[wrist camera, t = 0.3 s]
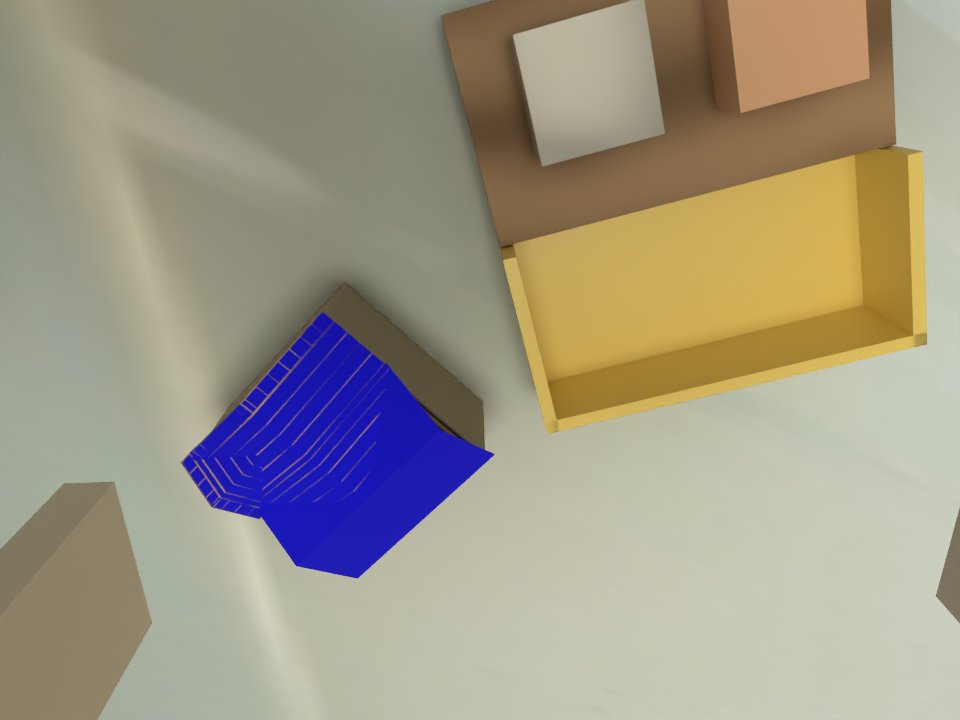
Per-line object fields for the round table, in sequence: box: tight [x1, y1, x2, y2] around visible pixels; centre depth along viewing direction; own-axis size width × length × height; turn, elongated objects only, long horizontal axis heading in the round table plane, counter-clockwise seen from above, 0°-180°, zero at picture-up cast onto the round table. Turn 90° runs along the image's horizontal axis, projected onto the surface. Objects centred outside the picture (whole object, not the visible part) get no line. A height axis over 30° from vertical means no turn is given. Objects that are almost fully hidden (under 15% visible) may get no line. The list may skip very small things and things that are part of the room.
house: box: [181, 282, 495, 578], centre depth 36 cm, size 11×11×8 cm
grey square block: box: [509, 0, 665, 167], centre depth 29 cm, size 5×5×3 cm
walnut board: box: [441, 0, 896, 247], centre depth 32 cm, size 10×18×3 cm, turn 105°
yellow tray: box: [501, 145, 927, 434], centre depth 34 cm, size 9×18×5 cm, turn 105°
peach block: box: [702, 0, 870, 113], centre depth 28 cm, size 5×5×3 cm
